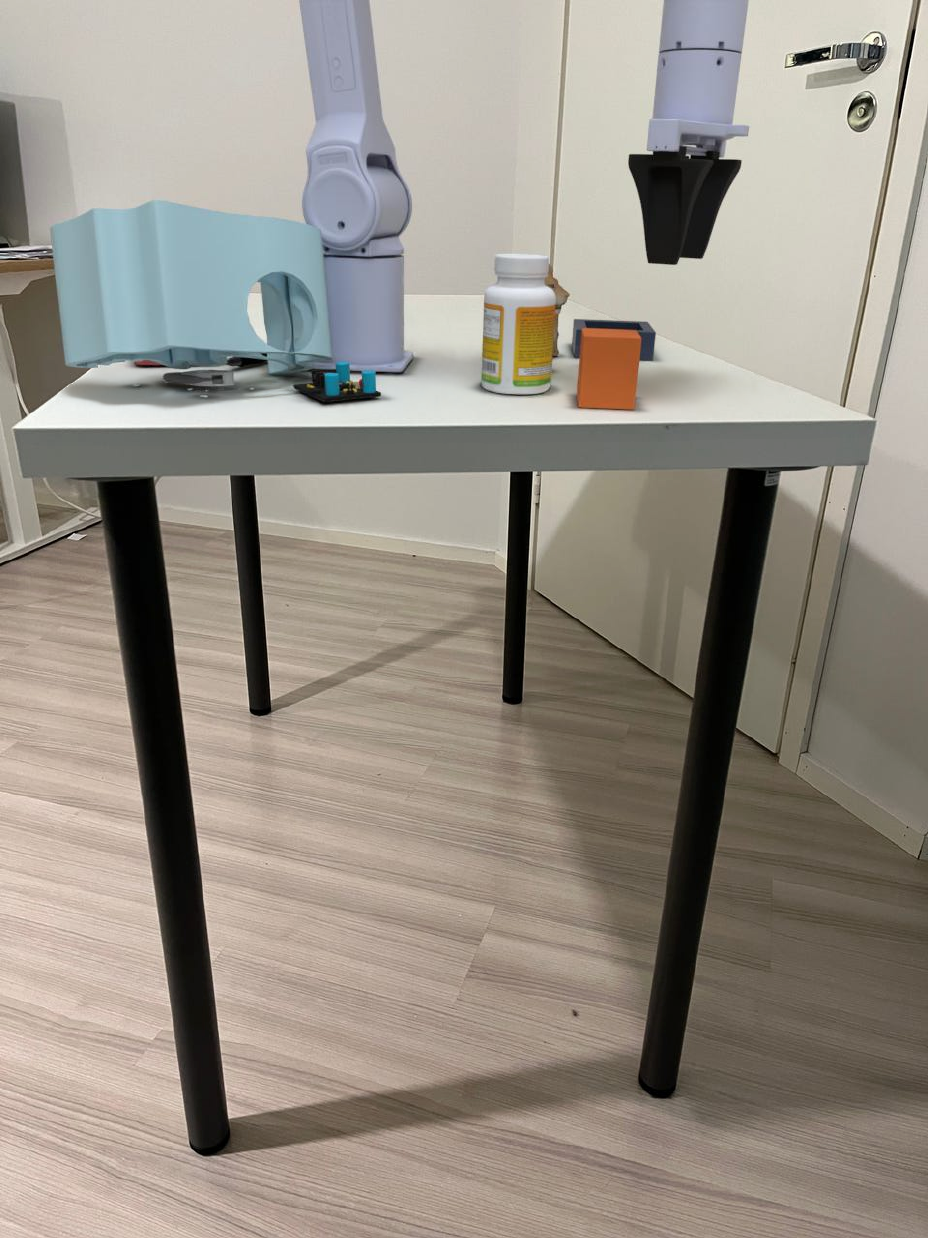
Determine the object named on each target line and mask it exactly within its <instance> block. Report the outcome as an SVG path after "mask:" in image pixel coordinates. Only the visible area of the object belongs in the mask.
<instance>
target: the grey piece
mask: <svg viewBox="0 0 928 1238" xmlns="http://www.w3.org/2000/svg"><path fill="white" fill-rule="evenodd" d="M162 379H163V381H164V382H165V381H166V382H170V383H169V384H171V383H172V384H182V385H189V386H197V387H227V386H229V387H230V386H235V385H236V384H235V383H236V382H235V376H234V371H233V370H227V369H225V370H224V369H198V370H197V369H196V370H187V371H175V372H166V373H164V374H163V376H162Z"/></svg>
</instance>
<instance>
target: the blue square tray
mask: <svg viewBox="0 0 928 1238" xmlns="http://www.w3.org/2000/svg"><path fill="white" fill-rule="evenodd" d="M582 328H597V329H623V330H636V331H637V332H638V334H639V335H640V337H641V349H640V359H639V361H653V360H654V355H655V345H656V335H657V332H656V331H655V329H654V328H653V327H652V325H651V324H650V323H649V322H648V321H639V320H638V321H637V320H612V319H611V320H610V319H586V318H585V319H584V318H574V319H573V325H572V337H571V338H572V340H571V347H572V353H573V357H574V358H578V359H579V357H580V344H581V331H582Z"/></svg>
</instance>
